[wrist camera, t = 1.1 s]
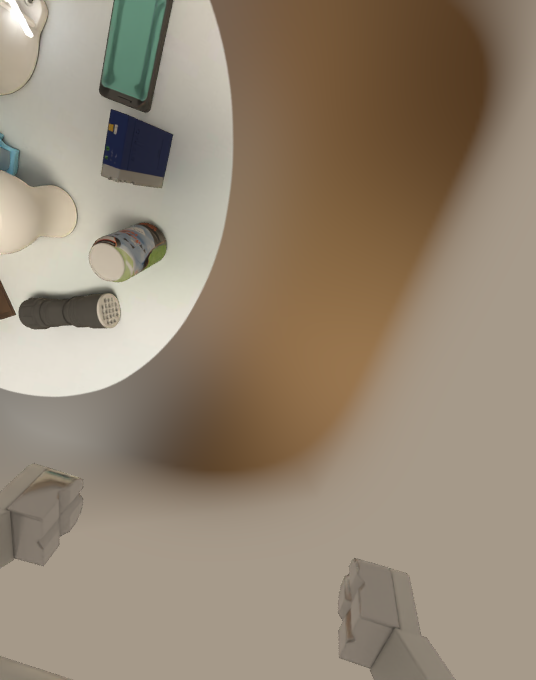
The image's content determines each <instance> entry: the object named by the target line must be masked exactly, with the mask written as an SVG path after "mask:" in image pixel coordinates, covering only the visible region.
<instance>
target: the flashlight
mask: <svg viewBox="0 0 536 680" xmlns="http://www.w3.org/2000/svg"><path fill="white" fill-rule="evenodd" d="M19 318H20V320H21V322H22V323H23V324H24V325H25V326H26V327H29V328H31V329H47V328H49V327H59V326H63V325H74V326H75V327H90V328H113V327H115V326H116V325H117V324H118V322H119V319H120V305H119V302H118V300H117V298H116V297H115V296H114V295H112V294H91V295H88V296H76V297H73V298H72V299H63V300H59V299H47V298H29V299H28V300H26V301H24V302H23V303H22V304H21V305H20V307H19Z"/></svg>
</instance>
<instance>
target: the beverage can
mask: <svg viewBox="0 0 536 680" xmlns="http://www.w3.org/2000/svg"><path fill="white" fill-rule="evenodd" d="M165 253H166V240H165V238H164V236H163V234H162V232H161V231H160V230H159V229H158V228H157V227H156V226H154V225H152V224H149V223H139V224H136V225H133V226H131V227H128V228H125V229H122V230H120V231H117V232H114V233H111V234H109V235H106V236H103V237H101V238H99V239H98V240H96V241H95V243H94V244H93V246H92V248H91V250H90V252H89V262H90V265H91V268H92V269H93V271H94V272H95V273H96V274H97V275H98V276H99V277H100V278H102V279H104V280H106V281H113V282H123V281H125V280H127V279H129V278H131V277H133V276H134V275H136V274H138V273H139V272H141V271H143V270H145V269H146V268H148V267H150V266H151V265H153V264H155V263H157V262H158V261H160V260H161V259H162V258H163V257H164V255H165Z"/></svg>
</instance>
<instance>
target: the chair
mask: <svg viewBox="0 0 536 680" xmlns="http://www.w3.org/2000/svg"><path fill="white" fill-rule="evenodd" d="M3 137H4V135H2V134H1V133H0V147H1V148H3V149H5V150H8V151H10V166H9V169H8V170H7V171H6V172H7V173H9V174H11V175H13V176H15V175H16V173H17V170H18V154H19V150H17V149H14V148H11V147H9V146H8V145H6V144H5V143H4V142H3V141H2V138H3Z"/></svg>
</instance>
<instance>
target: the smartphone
mask: <svg viewBox="0 0 536 680" xmlns="http://www.w3.org/2000/svg"><path fill="white" fill-rule="evenodd" d="M172 3H173V0H114V3H113V9H112V15H111V21H110V27H109V33H108V39H107V45H106V51H105V57H104V63H103V69H102V75H101V81H100V87H99V92H100V94H101V95H102V96H103V97H106V98H108V99H111V100H113V101H116V102H119V103H121V104H124V105H126V106H129V107H132V108H134V109H137V110H140V111H142V112H145V113H146V112H149V110H150V108H151V103H152V98H153V93H154V89H155V84H156V79H157V74H158V70H159V65H160V60H161V55H162V50H163V46H164V41H165V36H166V31H167V27H168V22H169V17H170V12H171V8H172Z"/></svg>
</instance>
